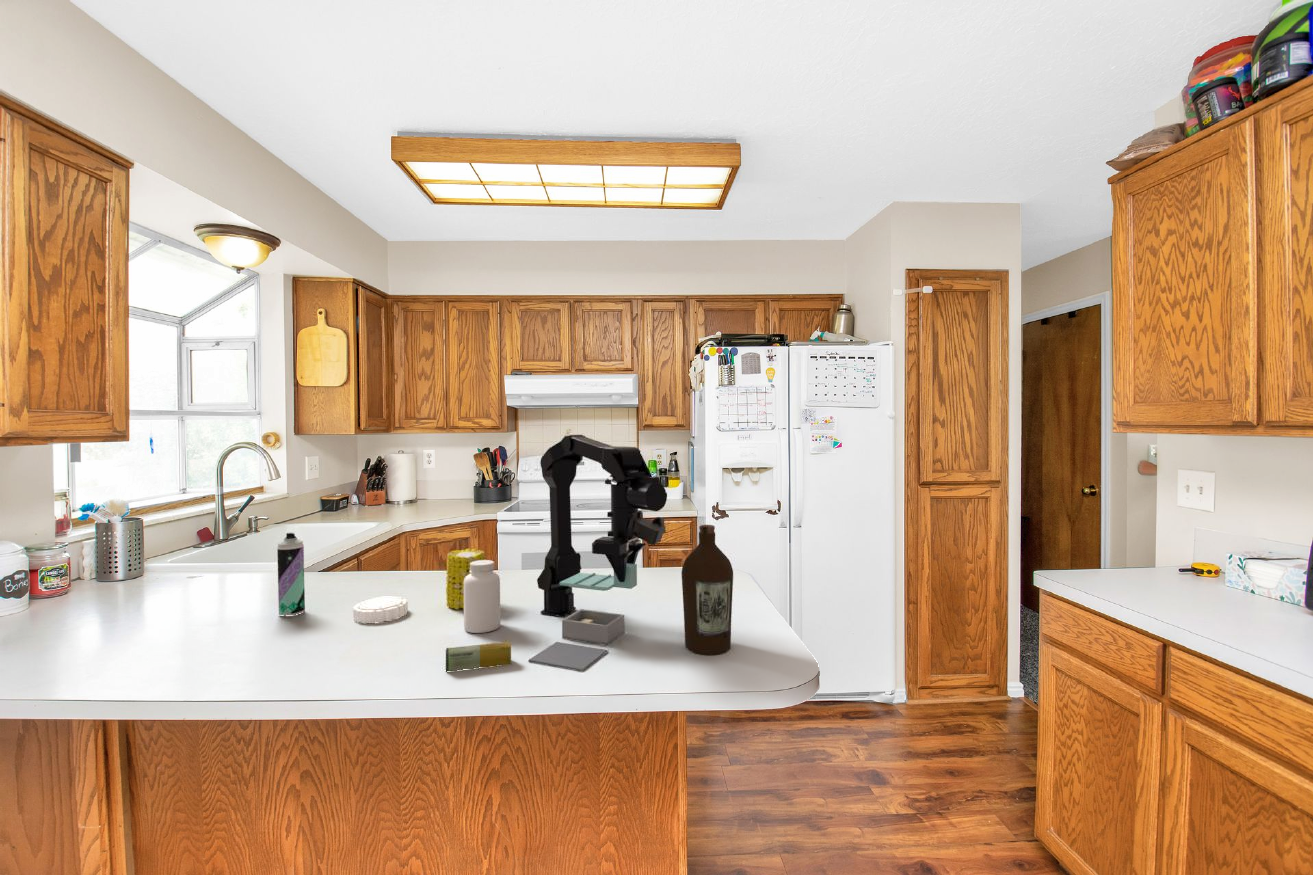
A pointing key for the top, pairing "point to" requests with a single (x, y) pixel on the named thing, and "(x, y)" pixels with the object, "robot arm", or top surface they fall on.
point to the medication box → (478, 656)
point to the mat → (568, 656)
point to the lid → (603, 580)
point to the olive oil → (707, 596)
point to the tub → (593, 627)
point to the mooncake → (380, 609)
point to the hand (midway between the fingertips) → (625, 579)
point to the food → (459, 574)
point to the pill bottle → (481, 598)
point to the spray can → (291, 575)
